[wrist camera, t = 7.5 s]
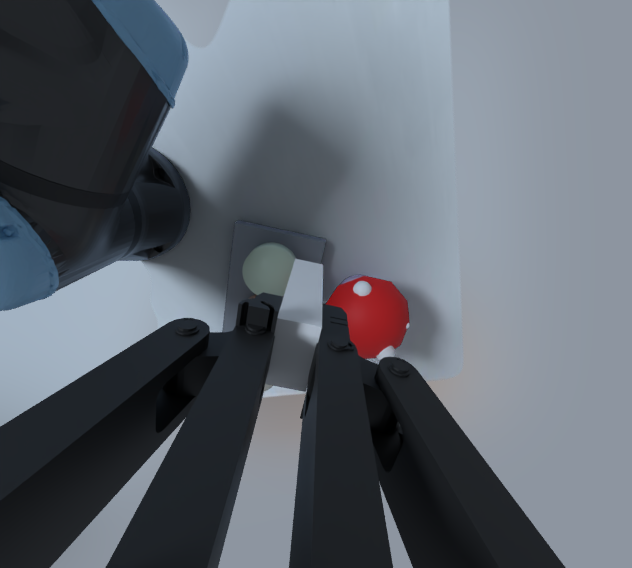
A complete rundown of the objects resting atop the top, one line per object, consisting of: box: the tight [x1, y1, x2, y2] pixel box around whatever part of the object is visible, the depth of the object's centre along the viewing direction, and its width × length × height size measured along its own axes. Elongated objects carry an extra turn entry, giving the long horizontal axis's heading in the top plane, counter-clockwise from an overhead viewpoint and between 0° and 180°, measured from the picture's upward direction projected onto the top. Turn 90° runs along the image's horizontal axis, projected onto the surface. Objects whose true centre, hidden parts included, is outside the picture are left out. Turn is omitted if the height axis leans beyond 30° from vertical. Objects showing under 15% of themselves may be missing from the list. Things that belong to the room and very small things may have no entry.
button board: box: [222, 220, 326, 332], centre depth 45 cm, size 12×23×3 cm, turn 168°
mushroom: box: [326, 275, 410, 361], centre depth 40 cm, size 11×11×12 cm
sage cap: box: [242, 242, 296, 296], centre depth 38 cm, size 7×7×2 cm
